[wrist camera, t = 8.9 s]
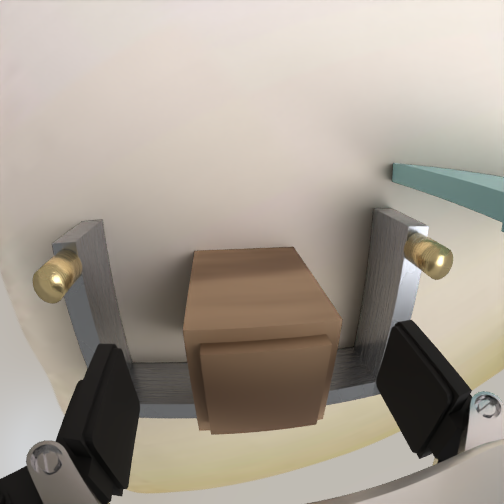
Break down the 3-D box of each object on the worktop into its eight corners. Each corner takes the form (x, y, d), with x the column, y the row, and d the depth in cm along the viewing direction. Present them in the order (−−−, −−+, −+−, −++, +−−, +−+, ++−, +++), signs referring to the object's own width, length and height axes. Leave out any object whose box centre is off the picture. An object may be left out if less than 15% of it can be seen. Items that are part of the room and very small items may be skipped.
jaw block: (194, 250, 16) (181, 342, 9) (293, 246, 16) (349, 329, 9) (201, 333, 17) (199, 441, 10) (288, 328, 18) (326, 429, 11)
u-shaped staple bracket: (80, 221, 14) (26, 261, 9) (393, 208, 16) (456, 240, 11) (118, 376, 18) (98, 441, 13) (368, 357, 20) (403, 413, 14)
